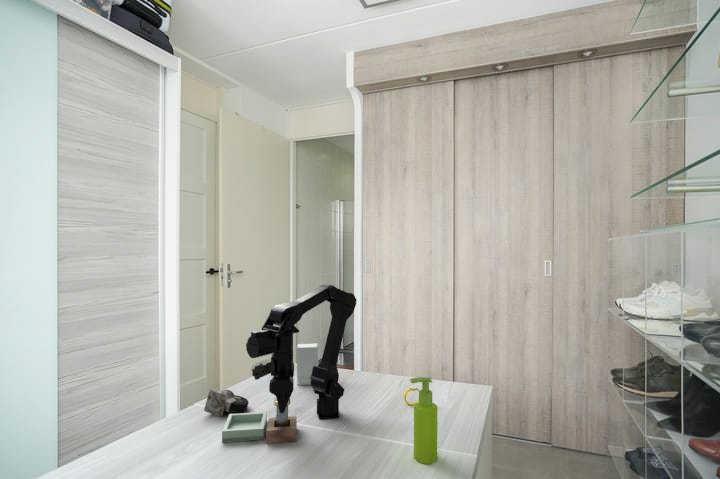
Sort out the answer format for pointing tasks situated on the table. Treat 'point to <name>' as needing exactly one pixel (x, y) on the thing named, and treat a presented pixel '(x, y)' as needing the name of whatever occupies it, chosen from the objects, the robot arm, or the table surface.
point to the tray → (244, 427)
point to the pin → (281, 415)
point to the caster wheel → (224, 402)
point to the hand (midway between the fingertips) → (282, 405)
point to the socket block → (281, 431)
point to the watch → (407, 392)
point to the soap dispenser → (425, 424)
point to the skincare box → (306, 362)
